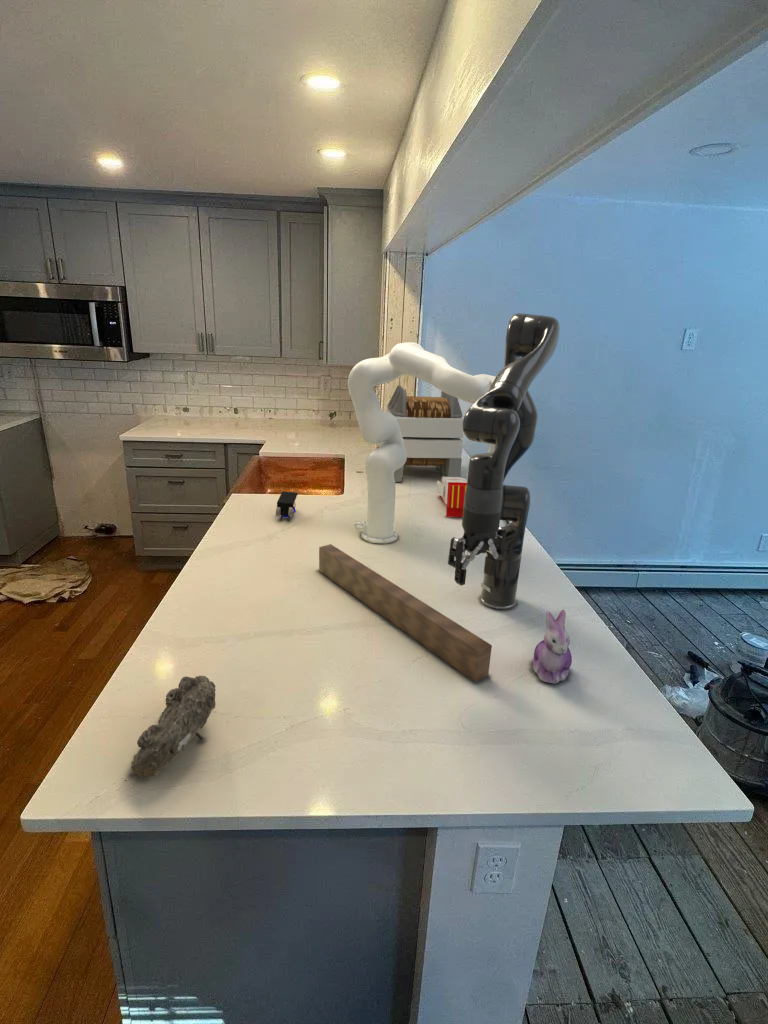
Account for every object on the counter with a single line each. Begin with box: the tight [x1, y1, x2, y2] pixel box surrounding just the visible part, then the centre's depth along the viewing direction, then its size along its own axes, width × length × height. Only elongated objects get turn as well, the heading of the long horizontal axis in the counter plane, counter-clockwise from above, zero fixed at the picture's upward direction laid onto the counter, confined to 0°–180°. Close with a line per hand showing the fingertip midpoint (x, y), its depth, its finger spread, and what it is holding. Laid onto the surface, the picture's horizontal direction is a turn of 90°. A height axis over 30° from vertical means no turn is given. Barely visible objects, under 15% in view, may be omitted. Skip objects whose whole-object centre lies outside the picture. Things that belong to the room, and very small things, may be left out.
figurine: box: [532, 609, 573, 684], centre depth 124 cm, size 9×10×15 cm
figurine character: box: [275, 491, 299, 522], centre depth 211 cm, size 7×8×15 cm
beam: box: [318, 543, 493, 683], centre depth 145 cm, size 64×4×8 cm, turn 37°
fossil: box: [130, 675, 217, 778], centre depth 101 cm, size 22×10×15 cm
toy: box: [435, 476, 467, 518], centre depth 229 cm, size 12×13×30 cm
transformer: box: [386, 384, 464, 483], centre depth 268 cm, size 34×33×41 cm
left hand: (494, 476), depth 173 cm, fingers open, 9 cm apart
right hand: (474, 578), depth 119 cm, fingers open, 8 cm apart
